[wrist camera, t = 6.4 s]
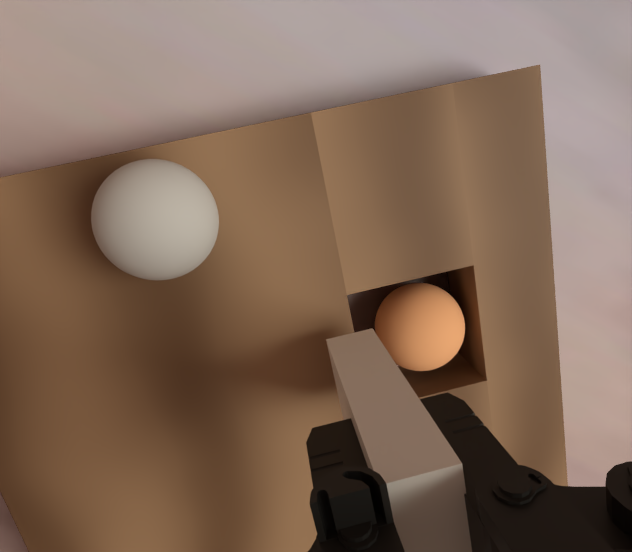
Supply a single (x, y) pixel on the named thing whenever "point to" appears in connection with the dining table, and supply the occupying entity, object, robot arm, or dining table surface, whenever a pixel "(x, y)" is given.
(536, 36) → the dining table surface
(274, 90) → the dining table surface
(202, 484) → the board
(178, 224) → the grey ball
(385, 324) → the ball
